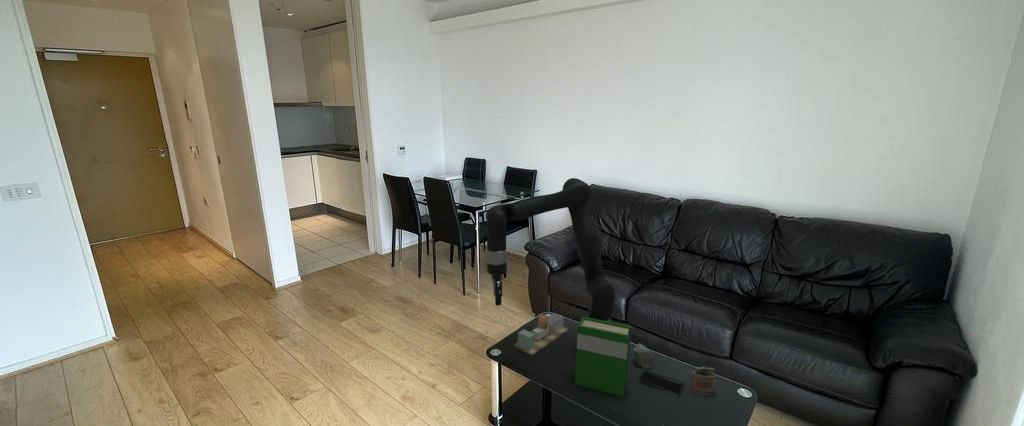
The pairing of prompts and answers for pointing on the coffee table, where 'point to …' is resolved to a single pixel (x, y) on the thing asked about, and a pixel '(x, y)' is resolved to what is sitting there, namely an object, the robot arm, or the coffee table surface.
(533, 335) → the sage socket
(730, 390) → the coffee table surface
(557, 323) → the aluminium sleeve
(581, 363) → the hardback book
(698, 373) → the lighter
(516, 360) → the coffee table surface
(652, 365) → the mineral specimen
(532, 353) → the oak base
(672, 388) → the phone
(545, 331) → the tube
